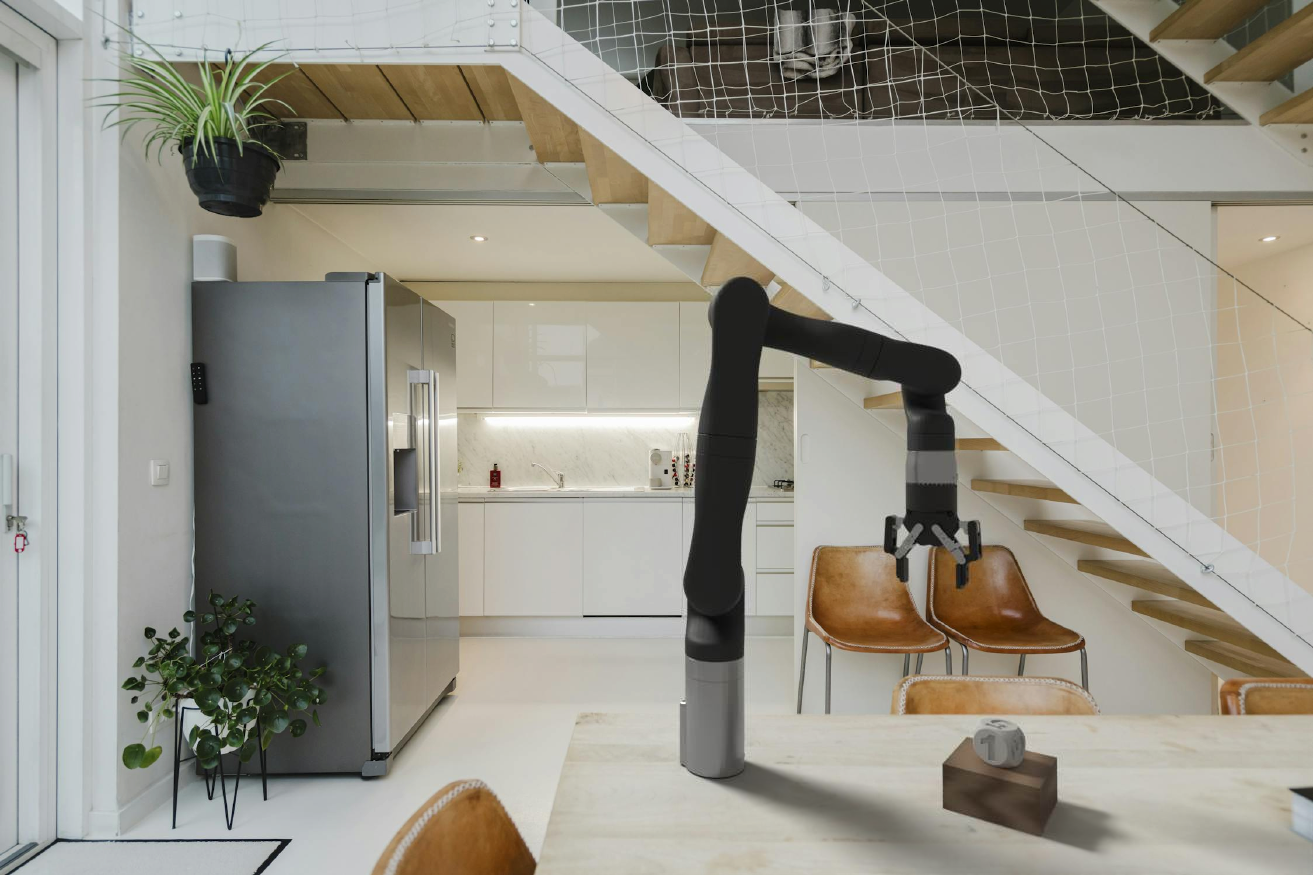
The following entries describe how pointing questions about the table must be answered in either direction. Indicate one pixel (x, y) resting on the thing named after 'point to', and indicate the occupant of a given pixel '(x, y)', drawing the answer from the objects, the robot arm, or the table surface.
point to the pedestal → (1001, 789)
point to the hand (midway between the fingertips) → (931, 585)
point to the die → (999, 742)
